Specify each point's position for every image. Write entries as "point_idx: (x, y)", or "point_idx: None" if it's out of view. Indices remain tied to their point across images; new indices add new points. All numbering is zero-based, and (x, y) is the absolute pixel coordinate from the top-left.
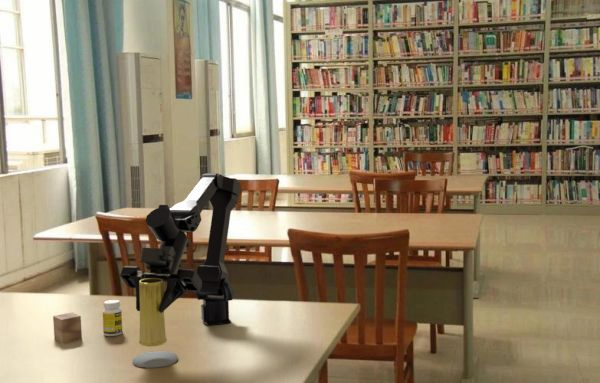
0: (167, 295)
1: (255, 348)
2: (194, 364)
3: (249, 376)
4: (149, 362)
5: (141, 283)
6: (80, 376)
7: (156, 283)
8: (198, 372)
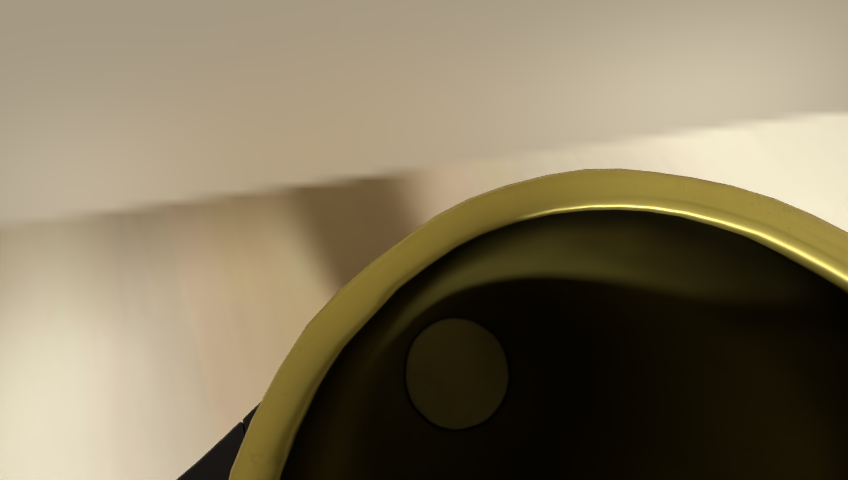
0: (237, 438)
1: None
2: (256, 336)
3: (10, 234)
4: None
5: (798, 223)
6: (629, 149)
7: (329, 312)
8: (217, 248)
